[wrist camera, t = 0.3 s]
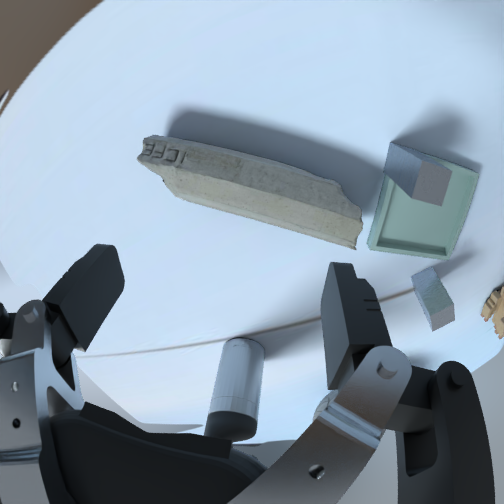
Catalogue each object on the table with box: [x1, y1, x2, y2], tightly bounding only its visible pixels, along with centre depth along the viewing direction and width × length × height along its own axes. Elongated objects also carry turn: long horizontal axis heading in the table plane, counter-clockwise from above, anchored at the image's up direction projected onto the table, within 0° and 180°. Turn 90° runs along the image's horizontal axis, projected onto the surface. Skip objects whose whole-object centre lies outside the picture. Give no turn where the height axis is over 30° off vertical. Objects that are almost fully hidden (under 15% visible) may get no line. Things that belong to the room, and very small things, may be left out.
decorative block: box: [137, 135, 363, 250], centre depth 34 cm, size 8×30×8 cm, turn 76°
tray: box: [367, 153, 479, 260], centre depth 35 cm, size 16×16×2 cm
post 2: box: [411, 266, 455, 332], centre depth 39 cm, size 4×4×10 cm
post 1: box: [383, 142, 452, 207], centre depth 29 cm, size 4×4×10 cm
